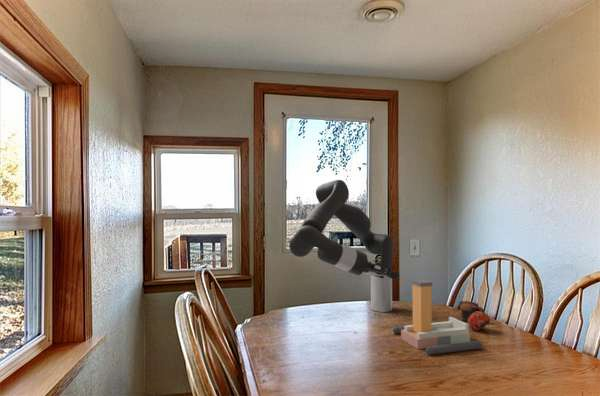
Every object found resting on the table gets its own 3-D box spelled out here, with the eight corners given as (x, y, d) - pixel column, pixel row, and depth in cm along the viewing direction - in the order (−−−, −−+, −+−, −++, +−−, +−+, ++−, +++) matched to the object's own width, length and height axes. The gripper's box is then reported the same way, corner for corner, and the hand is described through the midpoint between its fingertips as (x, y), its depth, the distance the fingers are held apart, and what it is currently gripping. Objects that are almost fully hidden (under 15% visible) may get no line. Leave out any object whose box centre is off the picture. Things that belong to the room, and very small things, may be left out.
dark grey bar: (428, 356, 117) (428, 348, 117) (424, 353, 119) (424, 345, 119) (484, 349, 122) (484, 341, 122) (478, 346, 125) (478, 339, 125)
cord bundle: (394, 335, 136) (394, 328, 136) (391, 332, 138) (391, 326, 138) (443, 329, 142) (443, 323, 142) (439, 327, 144) (439, 321, 144)
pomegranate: (492, 336, 141) (473, 314, 148) (501, 324, 137) (481, 302, 144) (477, 341, 138) (459, 319, 145) (486, 329, 134) (467, 306, 141)
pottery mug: (450, 320, 155) (452, 300, 159) (465, 327, 159) (466, 307, 163) (477, 319, 146) (478, 298, 149) (492, 327, 149) (493, 306, 153)
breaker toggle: (421, 335, 126) (420, 283, 126) (411, 330, 131) (411, 279, 131) (432, 334, 127) (432, 282, 127) (423, 329, 132) (422, 279, 132)
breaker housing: (417, 349, 123) (417, 330, 123) (401, 338, 132) (400, 321, 132) (469, 342, 128) (469, 324, 128) (450, 333, 138) (450, 316, 138)
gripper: (363, 248, 117) (406, 266, 121) (342, 248, 130) (382, 265, 134) (356, 271, 115) (400, 289, 119) (336, 269, 128) (376, 285, 132)
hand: (390, 276), depth 127 cm, fingers open, 8 cm apart
